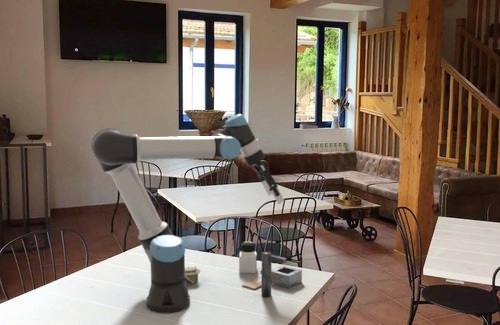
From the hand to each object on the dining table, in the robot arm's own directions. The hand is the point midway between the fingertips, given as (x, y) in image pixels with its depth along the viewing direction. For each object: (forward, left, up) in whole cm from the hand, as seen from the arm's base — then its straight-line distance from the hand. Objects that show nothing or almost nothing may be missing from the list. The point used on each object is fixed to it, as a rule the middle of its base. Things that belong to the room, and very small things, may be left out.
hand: (276, 198), depth 200 cm
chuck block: (-2, -3, -33) cm, 33 cm away
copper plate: (-12, +1, -33) cm, 35 cm away
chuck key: (-17, -11, -33) cm, 39 cm away
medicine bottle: (0, +14, -33) cm, 36 cm away
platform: (-26, +23, -33) cm, 48 cm away
